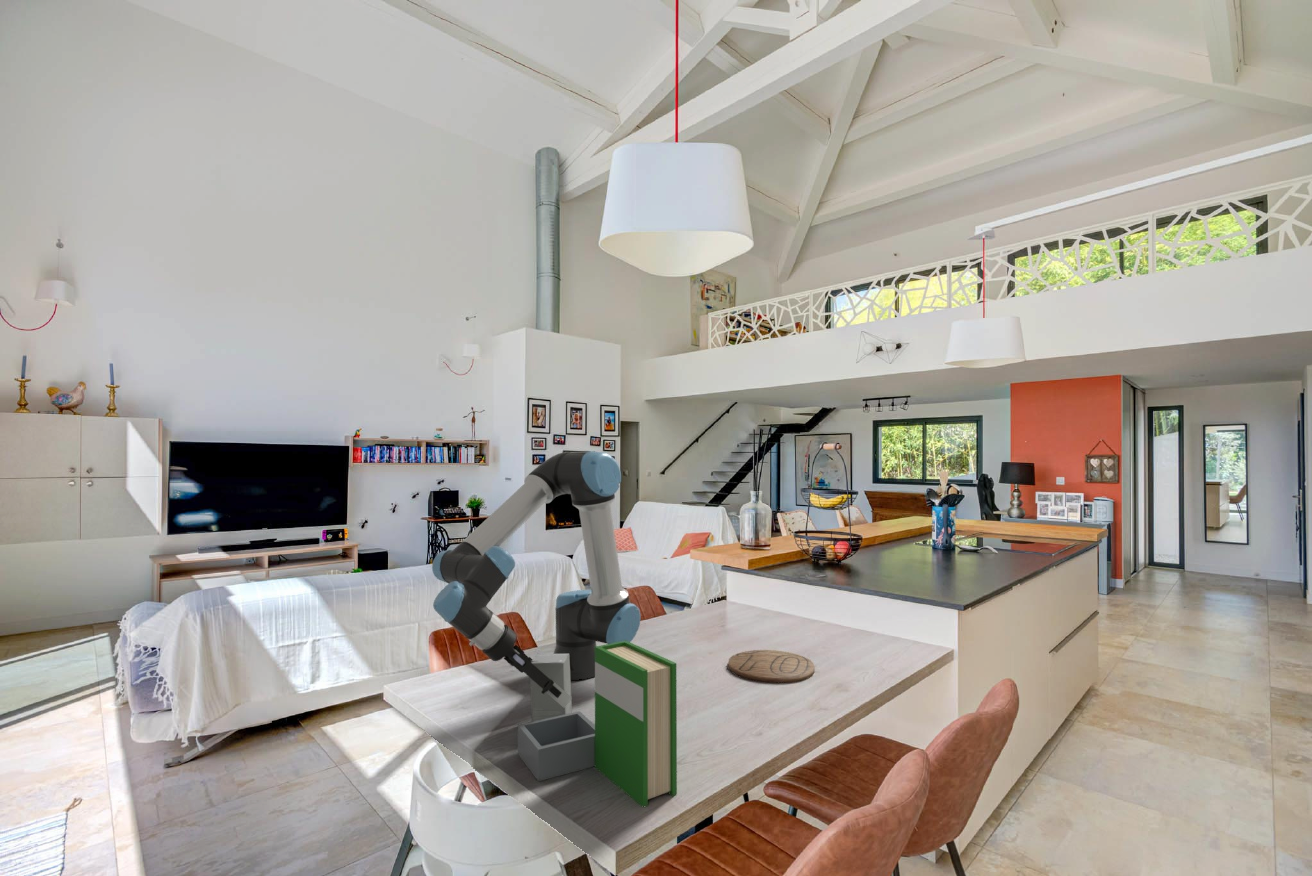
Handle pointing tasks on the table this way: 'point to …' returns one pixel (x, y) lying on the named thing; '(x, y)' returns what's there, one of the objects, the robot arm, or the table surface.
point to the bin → (557, 745)
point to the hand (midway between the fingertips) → (557, 692)
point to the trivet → (771, 666)
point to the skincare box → (559, 672)
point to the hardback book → (636, 720)
